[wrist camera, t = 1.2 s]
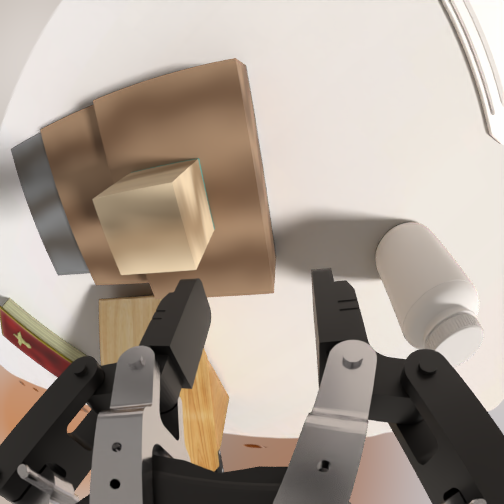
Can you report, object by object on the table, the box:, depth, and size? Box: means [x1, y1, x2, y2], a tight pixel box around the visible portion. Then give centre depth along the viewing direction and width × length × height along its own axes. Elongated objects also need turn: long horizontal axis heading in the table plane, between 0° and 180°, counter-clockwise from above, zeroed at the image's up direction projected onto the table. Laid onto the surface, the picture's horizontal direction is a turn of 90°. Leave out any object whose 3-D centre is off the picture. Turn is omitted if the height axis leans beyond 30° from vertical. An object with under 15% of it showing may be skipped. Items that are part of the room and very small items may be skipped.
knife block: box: [99, 295, 229, 473], centre depth 32 cm, size 11×35×31 cm, turn 12°
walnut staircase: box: [11, 58, 276, 299], centre depth 28 cm, size 20×32×6 cm, turn 99°
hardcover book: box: [0, 298, 87, 377], centre depth 47 cm, size 12×21×4 cm, turn 55°
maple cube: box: [92, 158, 215, 275], centre depth 21 cm, size 6×6×6 cm
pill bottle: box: [375, 222, 484, 368], centre depth 25 cm, size 8×8×15 cm
